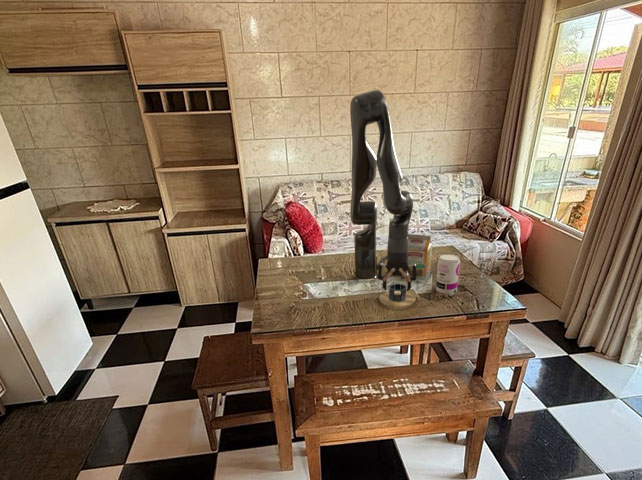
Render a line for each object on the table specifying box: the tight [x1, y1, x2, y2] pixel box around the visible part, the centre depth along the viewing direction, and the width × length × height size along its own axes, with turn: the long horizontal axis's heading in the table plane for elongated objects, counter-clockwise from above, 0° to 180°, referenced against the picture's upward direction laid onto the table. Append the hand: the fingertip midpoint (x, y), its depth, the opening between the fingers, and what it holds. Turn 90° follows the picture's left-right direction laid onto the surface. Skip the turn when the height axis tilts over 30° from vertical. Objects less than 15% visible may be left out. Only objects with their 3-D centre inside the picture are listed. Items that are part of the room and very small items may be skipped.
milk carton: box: [400, 233, 433, 281], centre depth 175 cm, size 11×11×19 cm
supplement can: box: [435, 253, 461, 297], centre depth 160 cm, size 8×8×15 cm
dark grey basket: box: [388, 283, 407, 302], centre depth 156 cm, size 8×6×5 cm
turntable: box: [378, 291, 416, 307], centre depth 158 cm, size 14×14×2 cm
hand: (396, 289), depth 156 cm, fingers open, 8 cm apart
